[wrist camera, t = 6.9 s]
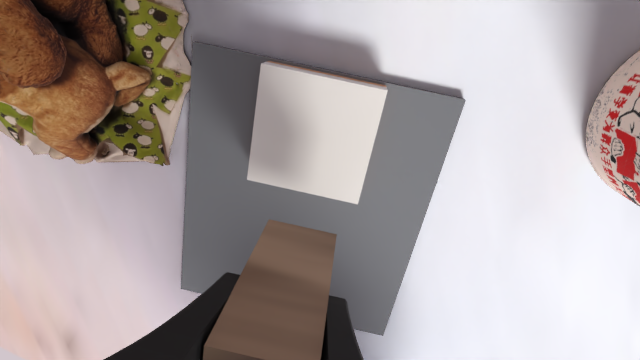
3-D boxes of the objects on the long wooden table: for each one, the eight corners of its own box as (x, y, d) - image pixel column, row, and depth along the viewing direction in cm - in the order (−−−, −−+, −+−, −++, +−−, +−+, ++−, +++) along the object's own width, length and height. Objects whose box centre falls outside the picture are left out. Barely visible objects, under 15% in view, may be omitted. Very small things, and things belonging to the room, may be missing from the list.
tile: (357, 204, 19) (387, 90, 17) (246, 179, 19) (260, 63, 17) (358, 191, 21) (385, 85, 18) (255, 169, 21) (269, 60, 18)
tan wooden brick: (323, 289, 17) (299, 447, 10) (260, 275, 17) (196, 423, 10) (336, 234, 16) (318, 372, 9) (269, 219, 16) (204, 345, 9)
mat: (382, 331, 25) (382, 335, 24) (183, 284, 25) (180, 288, 25) (463, 98, 18) (465, 99, 18) (195, 41, 19) (192, 41, 18)
